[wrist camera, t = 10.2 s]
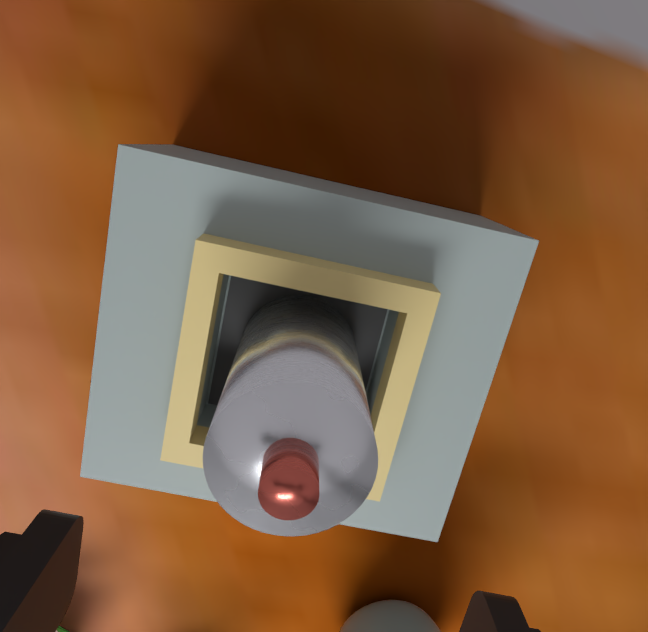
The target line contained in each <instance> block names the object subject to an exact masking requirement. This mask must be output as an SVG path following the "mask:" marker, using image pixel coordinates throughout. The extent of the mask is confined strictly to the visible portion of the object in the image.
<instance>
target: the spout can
mask: <svg viewBox="0 0 648 632" xmlns="http://www.w3.org/2000/svg"><path fill="white" fill-rule="evenodd" d="M203 469H204V474H205V478H206V481H207V484H208V487H209V489H210V491H211V492H212V494H213V496H214V498H215V499H216V500H217V502H218V503H219V504H220V505H221V507H222V508H223V509H224V510H225V511H226V512H227V513H229V514H230V515H231V516H232V517H233V518H235V519H236V520H238V521H239V522H241V523H242V524H244V525H246V526H248V527H250V528H252V529H255V530H258V531H261V532H264V533H268V534H272V535H279V536H302V535H309V534H314V533H318V532H321V531H324V530H327V529H329V528H331V527H333V526H336V525H338V524H339V523H341V522H342V521H344V520H345V519H347V518H348V517H349V516H351V515H352V514H353V513H354V512H355V511H356V510H357V509H358V508H359V507H360V506H361V505H362V504H363V502H364V501H365V499H366V498H367V497H368V495H369V493H370V491H371V489H372V487H373V484H374V482H375V479H376V474H377V470H378V450H377V444H376V440H375V435H374V430H373V425H372V421H371V416H370V411H369V406H368V402H367V397H366V392H365V388H364V383H363V378H362V373H361V369H360V364H359V359H358V354H357V350H356V345H355V340H354V336H353V333H352V330H351V328H350V326H349V324H348V322H347V321H346V319H345V318H344V317H343V315H342V314H341V313H340V312H339V311H338V310H337V309H335V308H334V307H333V306H331V305H330V304H328V303H326V302H325V301H322V300H320V299H318V298H314V297H310V296H303V295H293V296H286V297H282V298H278V299H276V300H273V301H271V302H269V303H267V304H266V305H264V306H263V307H262V308H260V309H259V310H258V311H257V312H256V313H255V314H254V315H253V316H252V318H251V319H250V320H249V322H248V324H247V325H246V328H245V330H244V333H243V335H242V338H241V341H240V344H239V347H238V349H237V352H236V355H235V358H234V360H233V363H232V366H231V369H230V372H229V374H228V377H227V380H226V383H225V386H224V388H223V391H222V394H221V397H220V400H219V402H218V405H217V408H216V411H215V414H214V416H213V419H212V422H211V425H210V428H209V430H208V433H207V436H206V439H205V443H204V448H203Z"/></svg>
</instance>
